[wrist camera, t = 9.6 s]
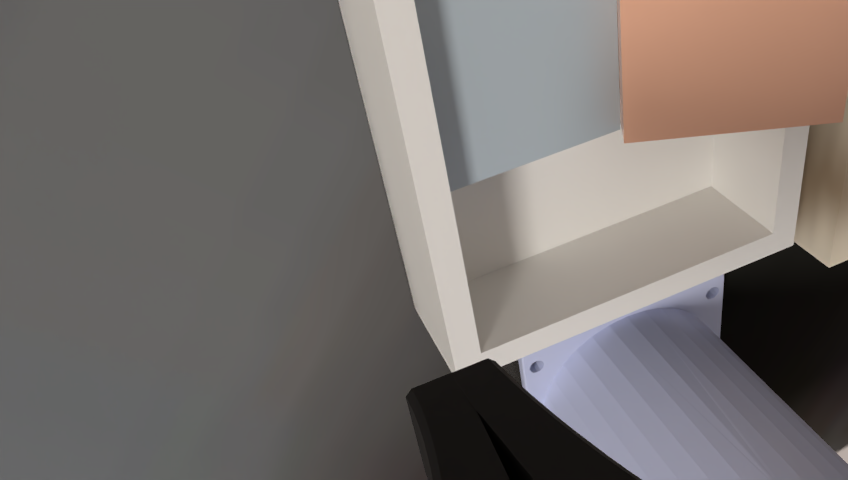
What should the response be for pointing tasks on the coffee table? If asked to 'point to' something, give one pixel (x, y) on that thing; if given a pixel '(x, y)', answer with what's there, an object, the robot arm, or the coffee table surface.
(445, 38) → the slate tile
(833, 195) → the ash board
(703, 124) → the terracotta tile
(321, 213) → the coffee table surface
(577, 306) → the box
